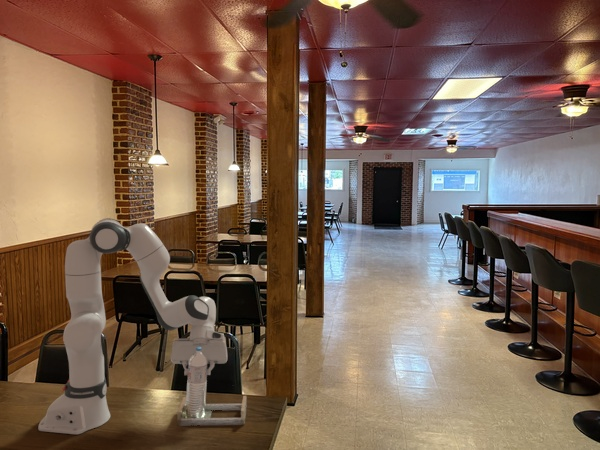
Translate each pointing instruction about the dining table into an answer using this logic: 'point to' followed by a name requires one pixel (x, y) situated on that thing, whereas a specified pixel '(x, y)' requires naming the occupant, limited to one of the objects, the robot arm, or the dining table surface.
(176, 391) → the dining table surface
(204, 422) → the wooden rack frame
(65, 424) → the robot arm
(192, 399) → the water bottle
